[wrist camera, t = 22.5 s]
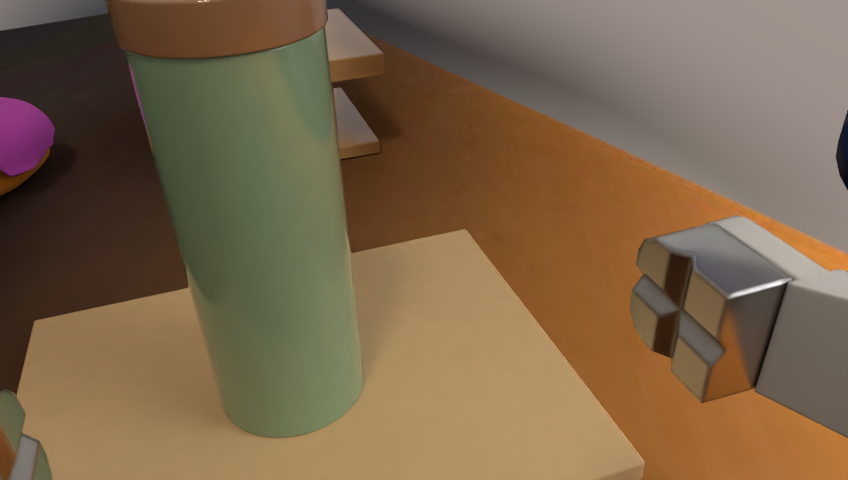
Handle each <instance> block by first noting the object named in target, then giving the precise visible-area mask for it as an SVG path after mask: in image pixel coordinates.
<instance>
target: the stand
mask: <svg viewBox="0 0 848 480" xmlns="http://www.w3.org/2000/svg"><path fill="white" fill-rule="evenodd" d="M327 12H328V21H327V23H326V25H325V30H326V39H327V47H328V56H329V65H330V74H331V82H337V81H344V80H351V79H358V78H365V77H371V76H378V75H384V74H385V67H384V54H383V53H382V52H381V51H380V50H379V49H378V48H377V47H376V46H375V45H374V44H373V43H372V42H371V41H370V40H369V39H368V38H367V37H366V36H365V35H364V34H363V33H362V32H361V31H360V30H359V29H358V28H357V27H356V26H355V25H354V24H353V23H352V22H351V21H350V20H349V19H348V18H347V17H346V16H345V15H344V14H343V13H342V12H341V11H340V10H339V9H332V10H327ZM332 91H333V100H334V109H335V117H336V126H337V135H338V144H339V152H340V160H341V159H346V158H352V157H358V156H363V155H369V154H375V153H379V152H380V145H379V140H378V139H377V137H376V136H375V135H374V133H373V132H372V130H371V129H370V128H369V126H368V125H367V123H366V122H365V121H364V119H363V118H362V116H361V115H360V114H359V112H358V111H357V109H356V108H355V107H354V105H353V104H352V102H351V101H350V99H349V98H348V97H347V95H346V94H345V92H344V91H343V90H342V88H333V83H332Z"/></svg>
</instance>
